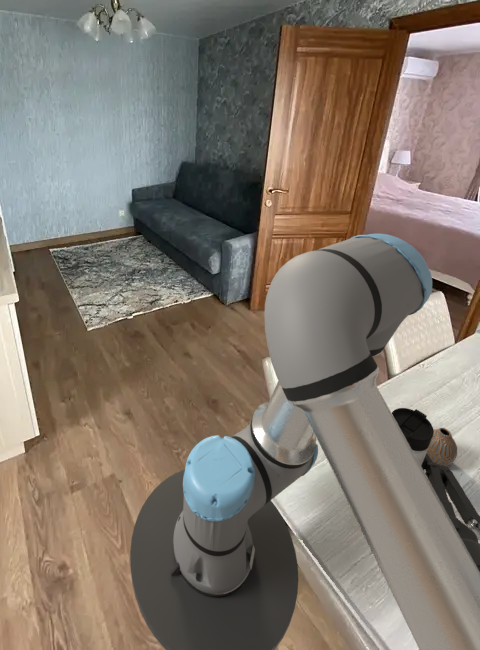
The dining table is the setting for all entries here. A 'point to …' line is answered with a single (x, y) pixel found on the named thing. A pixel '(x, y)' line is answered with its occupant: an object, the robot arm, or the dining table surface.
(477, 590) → the robot arm
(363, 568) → the dining table surface
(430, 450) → the vase
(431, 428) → the travel mug
